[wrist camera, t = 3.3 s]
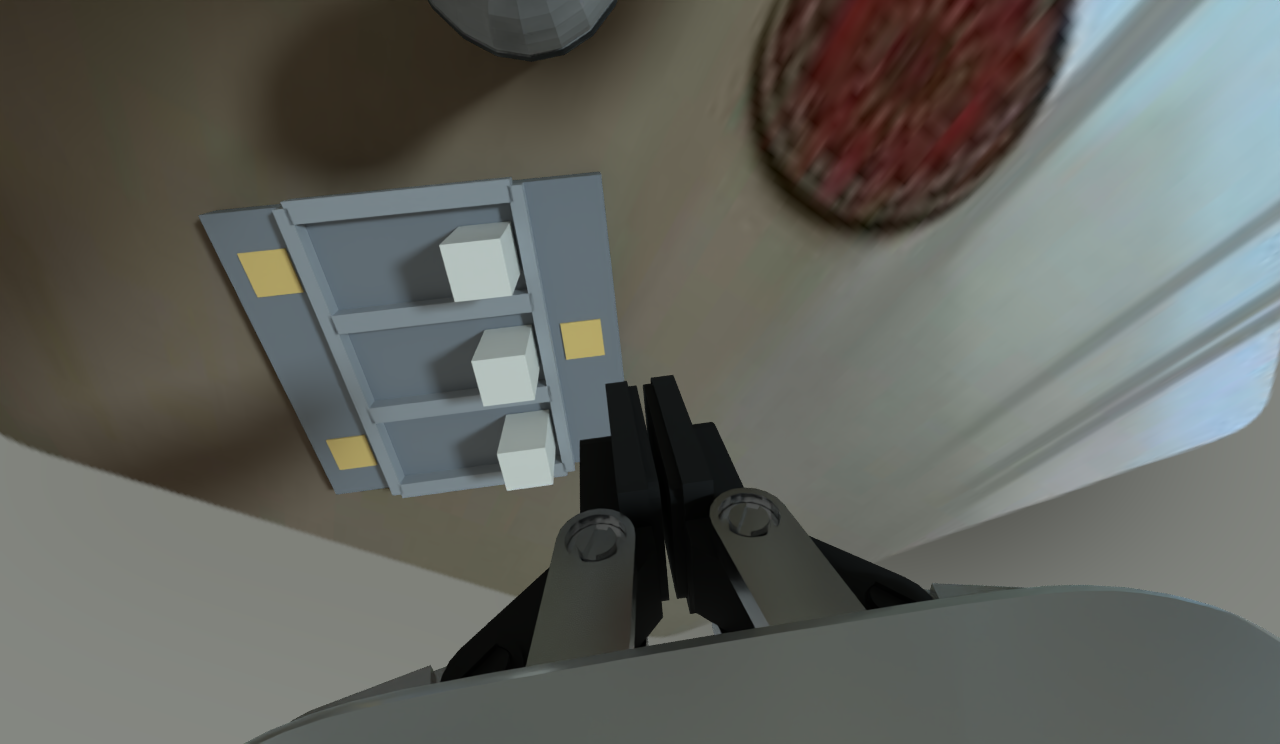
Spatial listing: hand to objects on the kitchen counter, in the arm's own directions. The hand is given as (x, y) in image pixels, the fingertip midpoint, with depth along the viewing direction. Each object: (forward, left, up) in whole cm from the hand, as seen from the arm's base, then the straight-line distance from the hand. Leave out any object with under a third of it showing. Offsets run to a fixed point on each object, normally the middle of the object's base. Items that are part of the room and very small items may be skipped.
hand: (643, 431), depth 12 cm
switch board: (+11, +6, -22) cm, 25 cm away
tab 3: (+7, +13, -20) cm, 25 cm away
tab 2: (+7, +6, -20) cm, 22 cm away
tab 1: (+7, 0, -20) cm, 21 cm away
